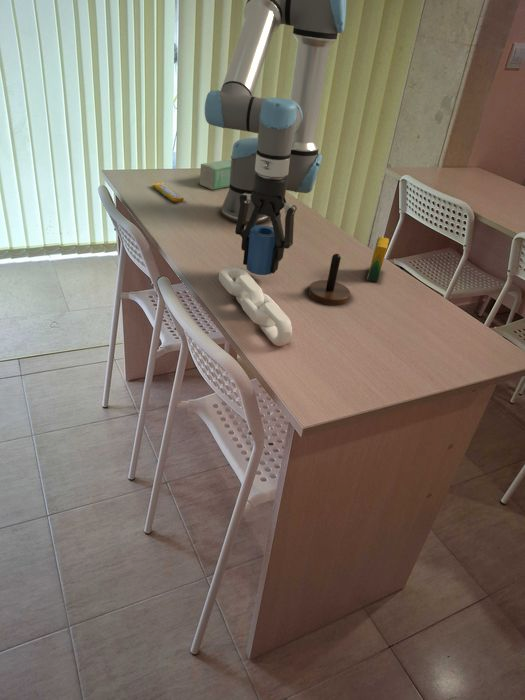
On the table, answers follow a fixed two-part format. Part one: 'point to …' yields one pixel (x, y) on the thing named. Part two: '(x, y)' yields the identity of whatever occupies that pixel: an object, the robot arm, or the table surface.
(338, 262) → the stand post
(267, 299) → the chain
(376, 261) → the crayon box
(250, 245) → the towel roll
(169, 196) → the candy bar
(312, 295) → the stand base
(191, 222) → the table surface
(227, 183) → the box
